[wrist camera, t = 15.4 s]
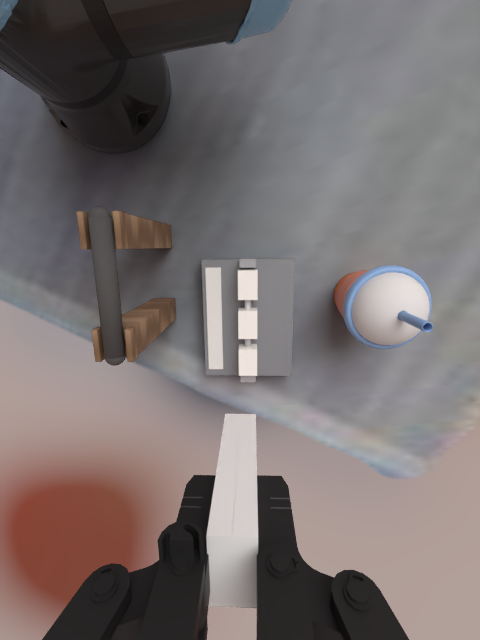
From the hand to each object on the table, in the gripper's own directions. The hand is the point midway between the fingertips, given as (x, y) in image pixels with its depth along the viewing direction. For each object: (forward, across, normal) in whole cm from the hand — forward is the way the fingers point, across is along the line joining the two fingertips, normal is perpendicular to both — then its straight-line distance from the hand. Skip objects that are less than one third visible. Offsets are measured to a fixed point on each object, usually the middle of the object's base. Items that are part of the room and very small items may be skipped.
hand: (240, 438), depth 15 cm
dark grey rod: (+14, -12, +6) cm, 19 cm away
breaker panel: (+29, 0, 0) cm, 29 cm away
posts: (+30, -12, +6) cm, 32 cm away
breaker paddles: (+26, 0, 0) cm, 26 cm away
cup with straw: (+30, +15, +3) cm, 33 cm away
